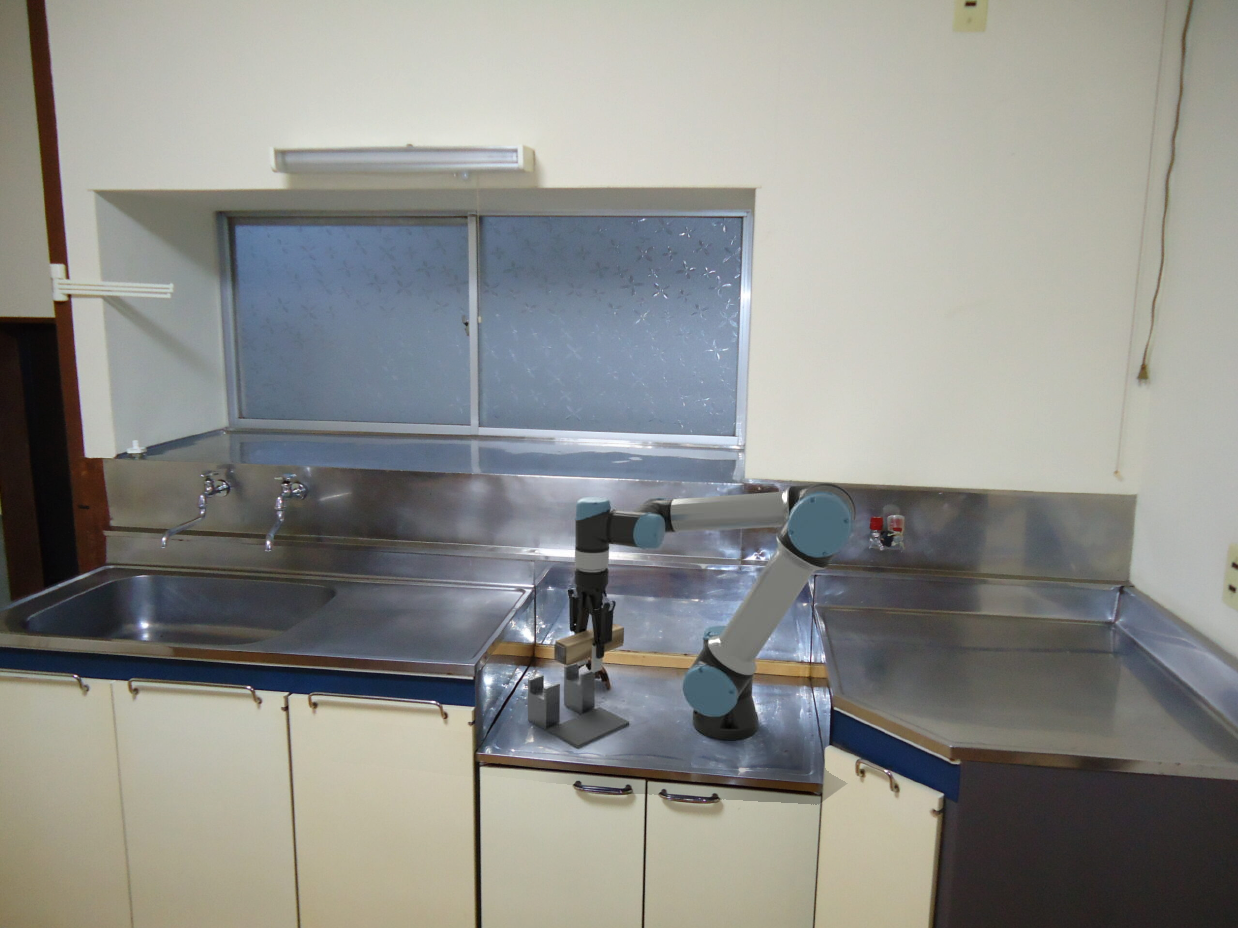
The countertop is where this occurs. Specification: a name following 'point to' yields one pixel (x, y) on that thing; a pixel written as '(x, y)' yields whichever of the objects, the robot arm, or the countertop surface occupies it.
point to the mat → (588, 727)
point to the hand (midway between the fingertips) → (589, 666)
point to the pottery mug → (599, 674)
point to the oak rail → (584, 645)
